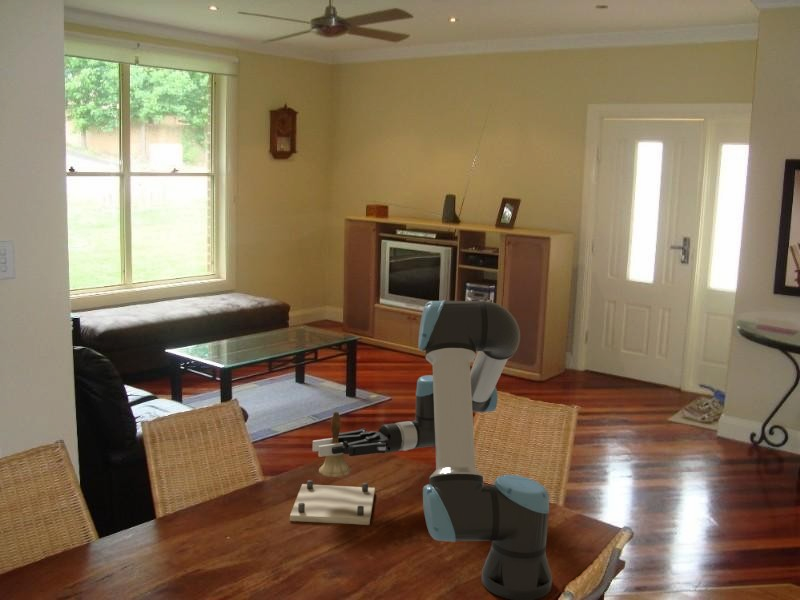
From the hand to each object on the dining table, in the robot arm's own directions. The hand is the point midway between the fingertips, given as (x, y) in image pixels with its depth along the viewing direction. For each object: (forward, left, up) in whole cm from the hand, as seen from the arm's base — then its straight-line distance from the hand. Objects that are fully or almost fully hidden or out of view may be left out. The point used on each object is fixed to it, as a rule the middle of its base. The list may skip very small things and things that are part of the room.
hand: (316, 448), depth 208 cm
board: (+2, -5, -16) cm, 17 cm away
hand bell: (+3, -5, -7) cm, 9 cm away
